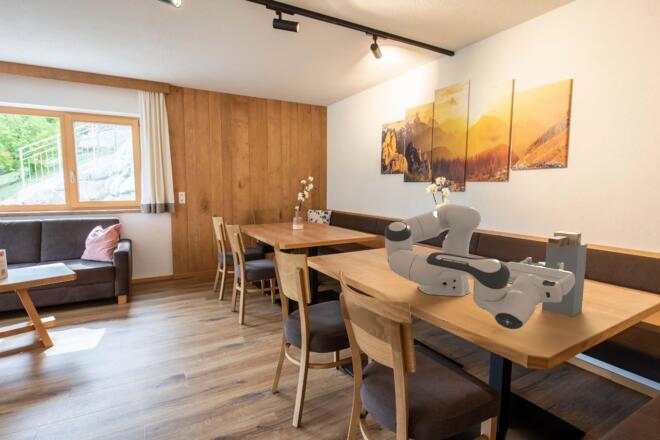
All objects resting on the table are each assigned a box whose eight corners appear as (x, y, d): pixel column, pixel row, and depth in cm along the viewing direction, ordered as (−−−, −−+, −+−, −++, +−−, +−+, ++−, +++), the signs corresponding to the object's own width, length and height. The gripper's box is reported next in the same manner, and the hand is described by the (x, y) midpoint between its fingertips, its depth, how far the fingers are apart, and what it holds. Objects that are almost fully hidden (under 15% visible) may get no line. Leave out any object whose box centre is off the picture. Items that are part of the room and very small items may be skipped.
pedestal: (572, 317, 121) (578, 246, 118) (541, 309, 129) (546, 242, 126) (581, 311, 127) (587, 243, 125) (551, 303, 135) (556, 240, 132)
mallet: (564, 248, 114) (565, 237, 114) (541, 245, 120) (542, 234, 119) (580, 243, 125) (581, 233, 124) (559, 241, 130) (559, 231, 130)
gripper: (497, 287, 116) (514, 263, 122) (566, 303, 100) (581, 274, 106) (494, 273, 113) (511, 249, 120) (564, 287, 97) (579, 259, 104)
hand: (545, 261), depth 113 cm, fingers open, 8 cm apart
